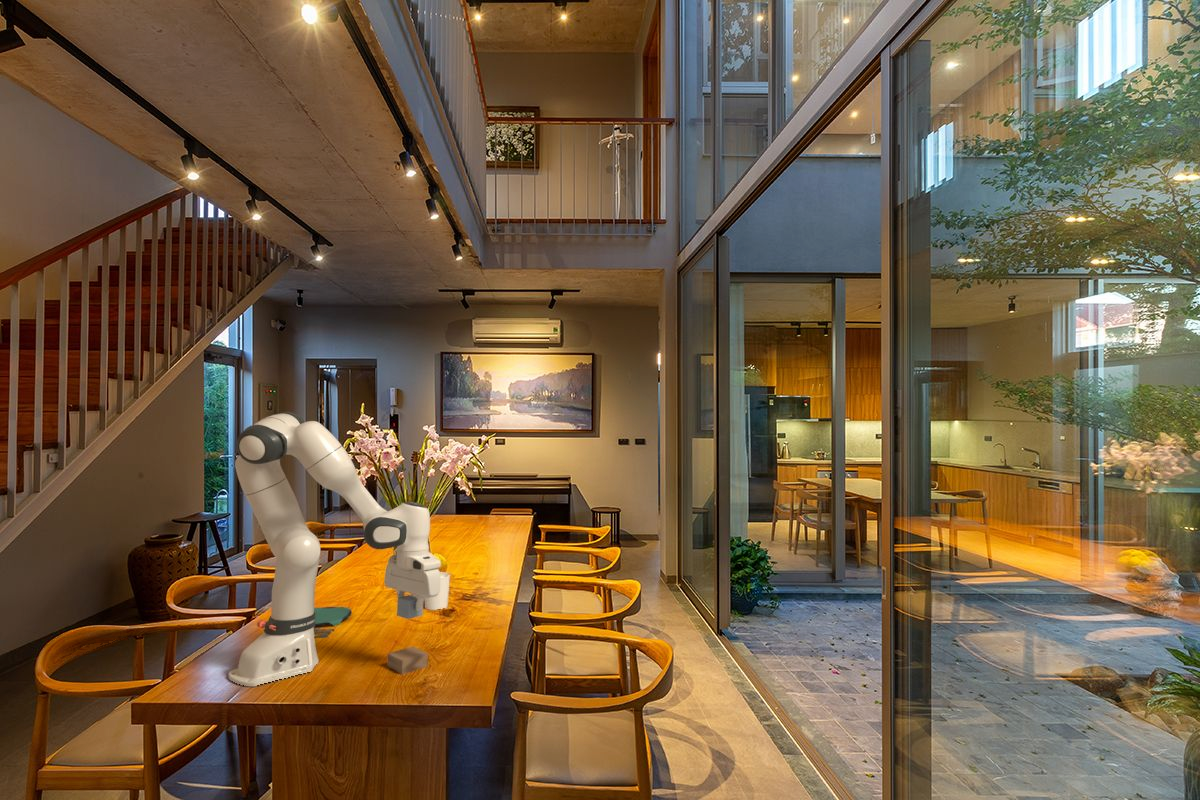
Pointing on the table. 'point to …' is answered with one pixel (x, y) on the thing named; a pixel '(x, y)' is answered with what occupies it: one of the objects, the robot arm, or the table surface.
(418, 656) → the walnut base
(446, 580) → the candle holder
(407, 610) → the block
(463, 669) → the table surface
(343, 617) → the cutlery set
